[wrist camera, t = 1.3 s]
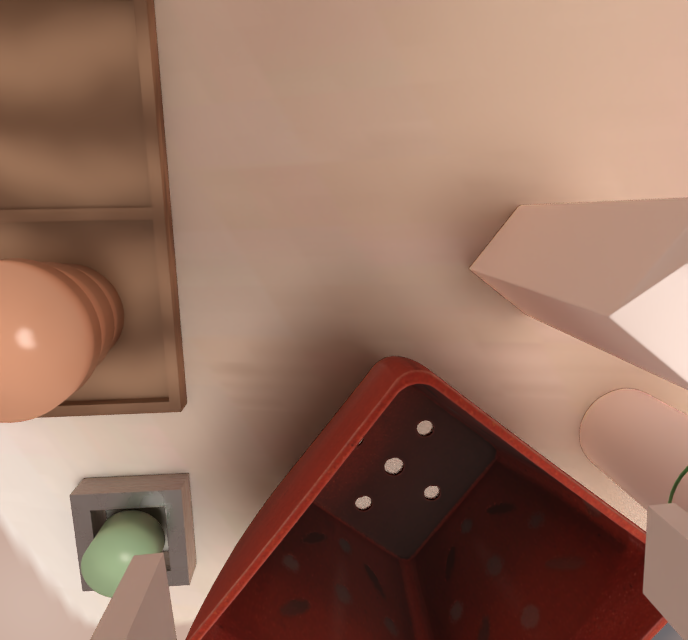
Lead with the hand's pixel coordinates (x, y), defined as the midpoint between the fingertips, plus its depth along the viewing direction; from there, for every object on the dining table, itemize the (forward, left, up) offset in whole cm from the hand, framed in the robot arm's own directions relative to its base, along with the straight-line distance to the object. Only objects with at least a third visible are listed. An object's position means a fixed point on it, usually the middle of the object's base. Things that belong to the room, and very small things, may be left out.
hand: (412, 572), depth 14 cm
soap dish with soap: (+14, -17, -26) cm, 34 cm away
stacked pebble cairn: (-3, -20, -25) cm, 32 cm away
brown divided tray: (-10, -20, -26) cm, 34 cm away
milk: (-6, +13, -26) cm, 30 cm away
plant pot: (+10, +3, -26) cm, 29 cm away
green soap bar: (+14, -17, -24) cm, 32 cm away
